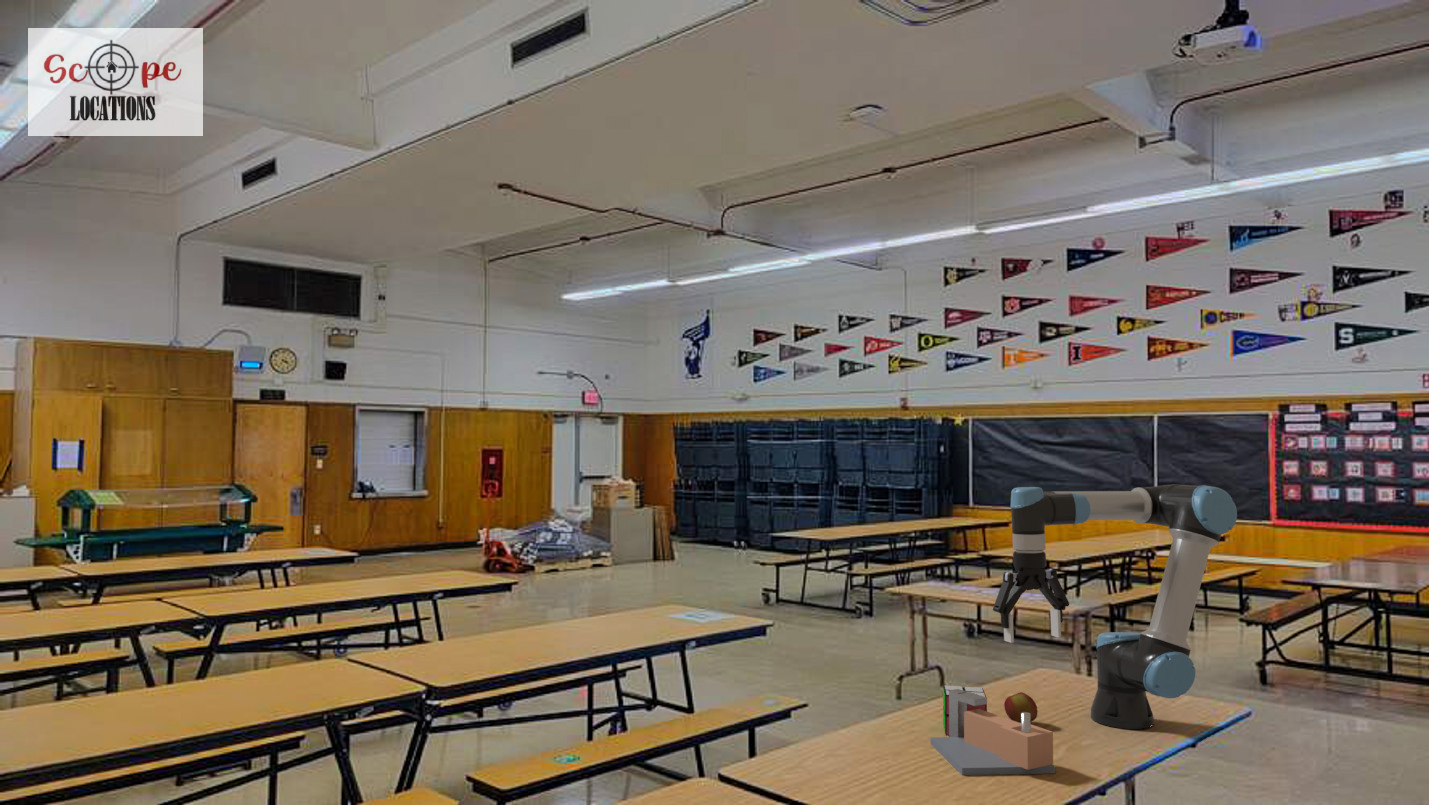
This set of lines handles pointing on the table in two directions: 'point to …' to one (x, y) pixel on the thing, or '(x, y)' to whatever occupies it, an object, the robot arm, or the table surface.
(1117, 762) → the table surface
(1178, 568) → the robot arm
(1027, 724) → the peg
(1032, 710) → the apple
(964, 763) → the board
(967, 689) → the puzzle cube
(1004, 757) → the tan socket bar
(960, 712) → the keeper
